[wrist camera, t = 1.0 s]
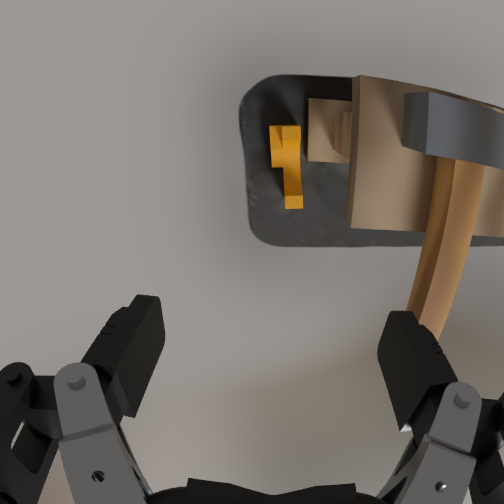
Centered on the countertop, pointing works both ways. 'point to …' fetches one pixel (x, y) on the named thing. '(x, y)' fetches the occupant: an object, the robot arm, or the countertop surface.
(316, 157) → the stand
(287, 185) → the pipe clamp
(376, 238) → the countertop surface
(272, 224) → the countertop surface
